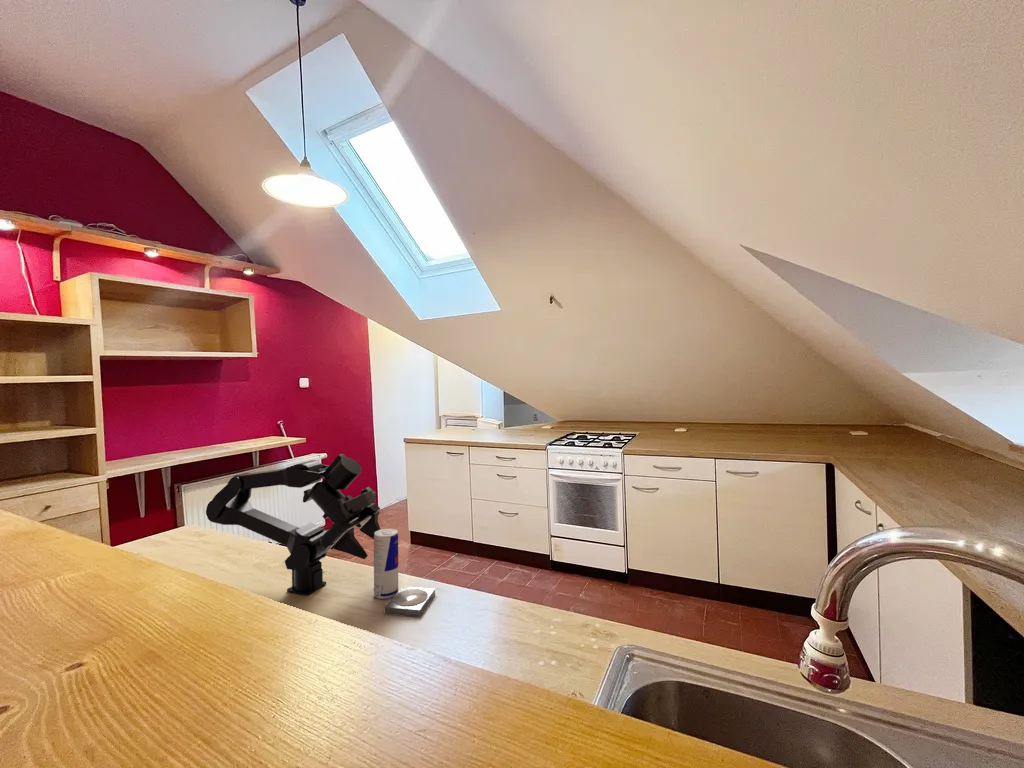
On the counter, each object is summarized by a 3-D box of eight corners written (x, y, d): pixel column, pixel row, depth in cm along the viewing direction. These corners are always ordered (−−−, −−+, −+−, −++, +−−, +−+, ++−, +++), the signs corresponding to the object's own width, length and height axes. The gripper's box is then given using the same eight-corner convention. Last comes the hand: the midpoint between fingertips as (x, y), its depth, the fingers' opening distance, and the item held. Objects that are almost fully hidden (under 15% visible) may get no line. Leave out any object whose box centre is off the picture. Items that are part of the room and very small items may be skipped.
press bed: (384, 614, 95) (384, 606, 95) (403, 592, 105) (403, 585, 105) (419, 617, 94) (419, 609, 94) (435, 594, 104) (435, 587, 104)
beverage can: (391, 601, 101) (391, 536, 101) (369, 599, 102) (369, 534, 102) (402, 590, 106) (402, 528, 106) (381, 588, 107) (381, 527, 107)
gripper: (332, 488, 96) (380, 541, 94) (372, 471, 115) (413, 515, 113) (300, 522, 97) (346, 575, 96) (345, 500, 116) (384, 544, 114)
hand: (375, 550), depth 105 cm, fingers open, 9 cm apart
